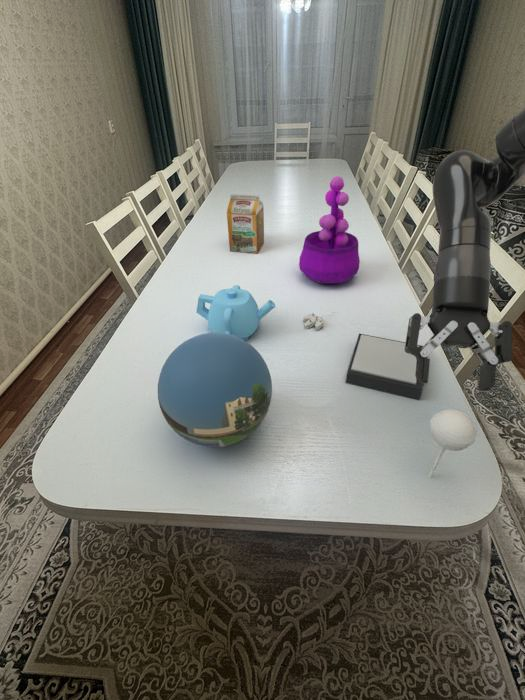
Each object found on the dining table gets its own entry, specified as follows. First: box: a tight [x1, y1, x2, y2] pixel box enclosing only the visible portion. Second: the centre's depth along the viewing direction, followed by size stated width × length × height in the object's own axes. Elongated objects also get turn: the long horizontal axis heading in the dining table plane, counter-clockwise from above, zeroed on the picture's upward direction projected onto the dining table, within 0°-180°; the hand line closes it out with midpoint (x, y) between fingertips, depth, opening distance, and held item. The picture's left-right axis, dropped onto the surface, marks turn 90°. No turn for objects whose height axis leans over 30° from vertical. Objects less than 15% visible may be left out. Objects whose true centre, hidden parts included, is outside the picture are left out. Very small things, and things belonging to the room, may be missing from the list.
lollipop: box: [428, 408, 478, 479], centre depth 55 cm, size 6×6×15 cm
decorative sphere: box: [157, 332, 273, 448], centre depth 63 cm, size 20×20×20 cm
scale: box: [345, 333, 425, 401], centre depth 79 cm, size 16×15×4 cm
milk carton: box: [226, 193, 265, 255], centre depth 131 cm, size 11×11×19 cm
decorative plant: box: [298, 176, 360, 284], centre depth 107 cm, size 19×18×30 cm
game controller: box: [302, 311, 335, 331], centre depth 96 cm, size 6×12×3 cm, turn 145°
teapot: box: [196, 284, 276, 341], centre depth 90 cm, size 20×17×12 cm
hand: (453, 386), depth 53 cm, fingers open, 8 cm apart
